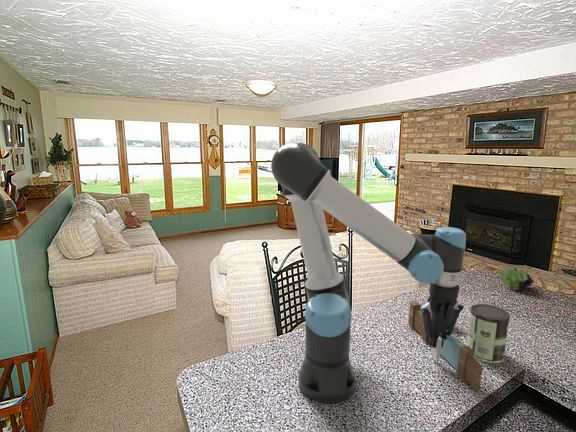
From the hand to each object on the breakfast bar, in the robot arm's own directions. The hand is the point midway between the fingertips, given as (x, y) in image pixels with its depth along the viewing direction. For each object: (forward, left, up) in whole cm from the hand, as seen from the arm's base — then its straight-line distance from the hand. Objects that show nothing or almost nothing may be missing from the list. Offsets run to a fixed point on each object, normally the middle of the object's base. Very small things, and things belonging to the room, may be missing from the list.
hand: (435, 356), depth 100 cm
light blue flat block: (+4, +1, -1) cm, 4 cm away
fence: (+10, +4, -2) cm, 11 cm away
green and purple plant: (+67, +44, -2) cm, 80 cm away
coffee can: (+18, +1, -2) cm, 18 cm away
